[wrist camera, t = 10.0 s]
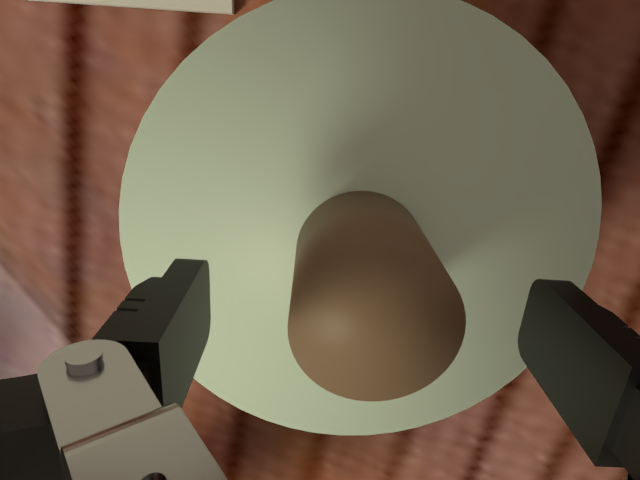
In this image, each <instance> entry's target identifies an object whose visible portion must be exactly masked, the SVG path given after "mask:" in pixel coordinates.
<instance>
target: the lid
mask: <svg viewBox="0 0 640 480" xmlns="http://www.w3.org/2000/svg"><path fill="white" fill-rule="evenodd" d="M601 210H602V198H601V178H600V171H599V166H598V161H597V156H596V151H595V146H594V143H593V140H592V137H591V135H590V132H589V129H588V126H587V123H586V121H585V118H584V115H583V113H582V111H581V110H580V108H579V106H578V104H577V102H576V100H575V99H574V97H573V95H572V93H571V91H570V89H569V88H568V86H567V85H566V83H565V82H564V81H563V79H562V78H561V77H560V76H559V74H558V73H557V72H556V70H555V69H554V68H553V66H552V65H551V64H550V63H549V61H548V60H547V59H546V58H545V57H544V56H543V55H542V54H541V53H540V52H539V51H538V50H537V49H536V48H535V47H534V46H532V45H531V44H530V43H529V42H528V41H527V40H526V39H525V38H524V37H523V36H522V35H521V34H519V33H518V32H516V31H515V30H513V29H512V28H510V27H509V26H507V25H506V24H505V23H503V22H502V21H500V20H499V19H497V18H496V17H494V16H493V15H491V14H489V13H487V12H485V11H483V10H481V9H479V8H477V7H474V6H472V5H470V4H468V3H466V2H464V1H462V0H273V1H271V2H269V3H267V4H265V5H263V6H261V7H259V8H256V9H254V10H252V11H250V12H248V13H246V14H244V15H242V16H240V17H238V18H237V19H235V20H234V21H232V22H231V23H229V24H228V25H226V26H225V27H223V28H222V29H220V30H219V31H217V32H216V33H214V34H213V35H212V36H210V37H209V38H208V39H206V40H205V41H204V42H203V43H202V44H201V45H200V46H199V47H198V48H197V49H195V50H194V51H193V52H192V53H191V54H190V55H189V56H188V57H187V58H186V59H184V60H183V61H182V62H181V64H180V65H179V66H178V67H177V69H176V70H175V71H174V72H173V73H172V75H171V76H170V77H169V78H168V79H167V81H166V82H165V83H164V84H163V86H162V87H161V88H160V89H159V91H158V93H157V94H156V96H155V98H154V99H153V101H152V103H151V104H150V106H149V108H148V109H147V111H146V113H145V114H144V116H143V118H142V120H141V123H140V125H139V127H138V130H137V132H136V135H135V137H134V139H133V142H132V144H131V147H130V150H129V153H128V157H127V161H126V165H125V169H124V173H123V177H122V184H121V193H120V203H119V229H120V243H121V248H122V254H123V260H124V265H125V270H126V273H127V276H128V279H129V282H130V285H131V288H132V289H133V288H134V286H136V285H138V284H140V283H141V282H143V281H145V280H147V279H148V278H150V277H162V276H163V275H164V273H165V272H166V271H167V269H168V268H169V266H170V265H171V264H172V262H173V261H174V260H175V259H176V258H179V259H197V260H207V261H208V264H209V275H210V310H211V322H210V332H209V337H208V341H207V344H206V347H205V349H204V352H203V354H202V357H201V359H200V362H199V365H198V367H197V370H196V372H195V375H194V377H193V378H194V379H195V380H196V381H197V382H199V383H200V384H202V385H203V386H204V387H206V388H207V389H208V390H210V391H211V392H212V393H214V394H215V395H217V396H218V397H220V398H221V399H223V400H225V401H227V402H228V403H230V404H232V405H234V406H235V407H237V408H239V409H241V410H243V411H245V412H247V413H250V414H252V415H254V416H256V417H259V418H261V419H263V420H266V421H269V422H272V423H276V424H279V425H282V426H285V427H288V428H293V429H298V430H303V431H308V432H313V433H321V434H331V435H374V434H383V433H392V432H397V431H402V430H407V429H411V428H416V427H420V426H423V425H426V424H430V423H433V422H436V421H439V420H442V419H445V418H447V417H449V416H452V415H454V414H456V413H459V412H461V411H463V410H465V409H468V408H470V407H471V406H473V405H475V404H477V403H478V402H480V401H482V400H484V399H485V398H487V397H489V396H491V395H492V394H494V393H495V392H497V391H498V390H499V389H501V388H502V387H503V386H505V385H506V384H508V383H509V382H510V381H512V380H513V379H515V378H516V377H517V376H518V375H519V374H520V373H521V372H522V371H523V370H524V369H526V368H527V366H526V364H525V363H524V361H523V360H522V358H521V356H520V353H519V349H518V334H519V329H520V326H521V322H522V318H523V314H524V310H525V306H526V302H527V298H528V295H529V291H530V287H531V285H532V283H533V282H534V281H535V280H536V279H549V280H567V281H571V282H572V283H574V284H575V285H576V286H577V287H578V288H579V289H581V290H582V291H583V288H584V286H585V283H586V280H587V278H588V275H589V272H590V270H591V267H592V264H593V260H594V256H595V251H596V247H597V243H598V239H599V232H600V221H601Z"/></svg>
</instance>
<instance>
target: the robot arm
mask: <svg viewBox="0 0 640 480" xmlns="http://www.w3.org/2000/svg"><path fill="white" fill-rule="evenodd" d="M210 322H211V310H210V275H209V264H208V261H207V260H197V259H179V258H176V259H175V260H174V261H173V262H172V264H171V265H170V266H169V268H168V269H167V271H166V272H165V273H164V275H163V276H162V277H150V278H148V279H147V280H145V281H143V282H141V283H140V284H138V285H136V286H134V288H133V289H132V290H131V291H130V293H129V294H128V295H127V296H126V298H125V301H122V303H121V304H120V305H119V306H118V307H117V311H114V312H113V314H112V315H111V316H110V317H109V319H108V320H107V321H106V322H105V324H104V325H103V326H102V327H101V329H100V330H99V331H98V332H97V333H96V335H95V336H94V337H93V338H92V340H87V341H81V342H77V343H74V344H71V345H68V346H65V347H63V348H61V349H59V350H57V351H55V352H54V353H52V354H51V355H49V356H48V357H47V358H46V359H45V360H44V361H43V362H42V363H41V364H40V366H39V368H38V372H37V374H33V375H28V376H21V377H15V378H8V379H1V380H0V480H228V479H227V478H226V476H225V475H224V473H223V471H222V470H221V468H220V467H219V465H218V464H217V462H216V461H215V459H214V458H213V456H212V455H211V453H210V452H209V450H208V449H207V447H206V446H205V444H204V442H203V441H202V439H201V438H200V436H199V435H198V433H197V432H196V430H195V429H194V427H193V426H192V424H191V423H190V421H189V420H188V418H187V417H186V415H185V413H184V412H183V410H182V409H181V408H182V406H183V403H184V400H185V398H186V395H187V393H188V390H189V388H190V385H191V383H192V380H193V377H194V375H195V372H196V370H197V367H198V365H199V362H200V359H201V357H202V354H203V352H204V349H205V347H206V344H207V341H208V337H209V332H210ZM518 349H519V353H520V356H521V358H522V360H523V361H524V363H525V364H526V366H527V367H528V369H529V370H530V372H531V373H532V375H533V376H534V378H535V379H536V381H537V382H538V383H539V385H540V386H541V388H542V389H543V391H544V392H545V394H546V395H547V397H548V398H549V400H550V401H551V402H552V404H553V405H554V407H555V408H556V410H557V411H558V413H559V414H560V416H561V417H562V419H563V420H564V421H565V423H566V424H567V426H568V427H569V429H570V430H571V432H572V433H573V435H574V436H575V438H576V439H577V440H578V442H579V443H580V445H581V446H582V448H583V449H584V451H585V452H586V454H587V455H588V457H589V458H590V460H591V461H592V462H593V464H594V465H595V466H601V467H624V468H625V469H626V471H627V472H626V475H625V477H624V480H640V335H638V334H637V333H636V332H635V331H634V330H633V329H631V328H628V325H627V324H626V323H624V322H623V321H622V320H621V319H620V318H619V317H617V316H616V315H615V314H614V313H613V312H611V311H609V310H607V309H605V308H603V307H601V306H600V305H598V304H597V303H595V302H594V301H593V300H592V299H591V298H590V297H589V296H587V295H586V294H585V293H584V292H583V291H582V290H581V289H579V288H578V287H577V286H576V285H575V284H574V283H572V282H571V281H567V280H549V279H536V280H535V281H534V282H533V283H532V285H531V287H530V291H529V295H528V298H527V302H526V306H525V310H524V314H523V318H522V322H521V326H520V329H519V334H518Z"/></svg>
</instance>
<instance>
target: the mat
mask: <svg viewBox="0 0 640 480" xmlns="http://www.w3.org/2000/svg"><path fill="white" fill-rule="evenodd" d="M29 1H43V2H58V3H72V4H86V5H101V6H115V7H129V8H144V9H158V10H172V11H187V12H201V13H215V14H229V15H234V0H29Z"/></svg>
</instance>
